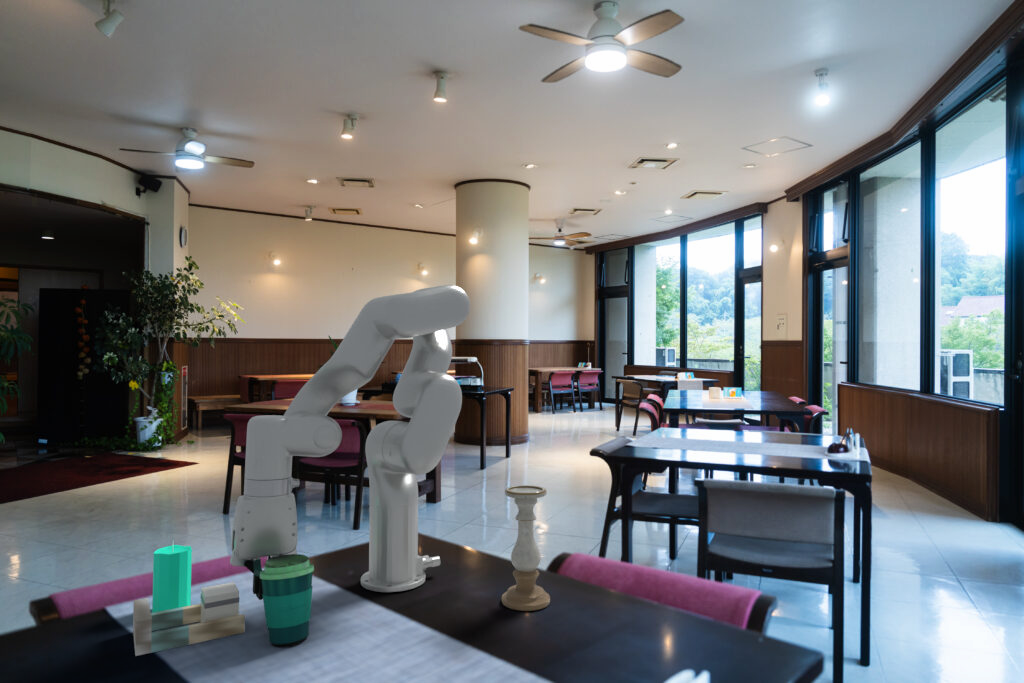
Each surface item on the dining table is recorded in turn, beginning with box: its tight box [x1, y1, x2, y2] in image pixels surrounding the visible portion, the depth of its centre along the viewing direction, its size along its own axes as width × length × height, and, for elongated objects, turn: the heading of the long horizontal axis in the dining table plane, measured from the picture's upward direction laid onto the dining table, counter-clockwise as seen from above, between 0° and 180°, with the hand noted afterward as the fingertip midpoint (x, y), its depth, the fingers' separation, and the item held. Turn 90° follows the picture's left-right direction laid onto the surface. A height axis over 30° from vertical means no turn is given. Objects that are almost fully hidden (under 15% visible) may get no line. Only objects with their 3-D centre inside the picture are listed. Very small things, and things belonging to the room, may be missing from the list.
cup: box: [260, 553, 315, 648], centre depth 98 cm, size 8×8×12 cm
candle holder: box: [501, 484, 551, 612], centre depth 113 cm, size 9×9×20 cm
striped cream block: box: [200, 581, 240, 623], centre depth 103 cm, size 5×5×6 cm
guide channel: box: [132, 597, 246, 657], centre depth 100 cm, size 15×10×5 cm, turn 123°
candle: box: [151, 540, 193, 613], centre depth 110 cm, size 6×6×12 cm
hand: (262, 596), depth 106 cm, fingers closed
